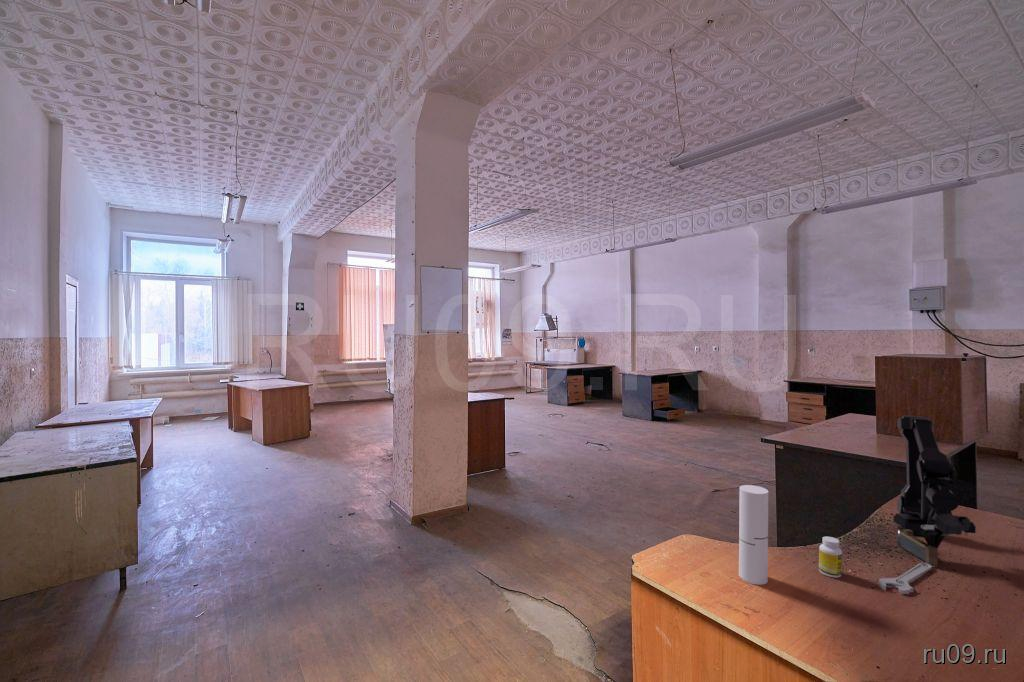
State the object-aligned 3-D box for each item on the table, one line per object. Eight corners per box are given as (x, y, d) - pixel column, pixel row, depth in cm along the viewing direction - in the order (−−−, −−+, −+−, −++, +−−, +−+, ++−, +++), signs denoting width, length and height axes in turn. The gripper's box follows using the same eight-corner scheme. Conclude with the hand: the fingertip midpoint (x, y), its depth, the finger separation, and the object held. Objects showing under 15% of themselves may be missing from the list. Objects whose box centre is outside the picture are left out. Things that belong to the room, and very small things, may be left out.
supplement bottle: (841, 580, 127) (842, 545, 127) (818, 574, 130) (818, 540, 130) (842, 572, 131) (842, 538, 131) (819, 566, 135) (819, 533, 135)
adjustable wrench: (921, 566, 136) (921, 560, 135) (949, 577, 130) (949, 571, 130) (874, 586, 125) (874, 580, 125) (903, 599, 119) (903, 592, 119)
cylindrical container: (771, 586, 125) (772, 494, 124) (743, 583, 126) (743, 492, 125) (762, 572, 131) (763, 485, 131) (735, 569, 133) (736, 484, 132)
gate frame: (900, 545, 148) (901, 528, 148) (910, 546, 147) (910, 529, 147) (927, 566, 134) (928, 548, 134) (938, 567, 134) (938, 549, 134)
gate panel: (896, 544, 147) (896, 529, 147) (901, 544, 147) (901, 529, 147) (924, 561, 136) (924, 545, 136) (930, 561, 136) (930, 545, 136)
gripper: (918, 508, 132) (917, 561, 132) (993, 511, 129) (992, 566, 129) (892, 494, 143) (892, 544, 143) (960, 497, 140) (959, 548, 140)
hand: (933, 550), depth 139 cm, fingers closed
